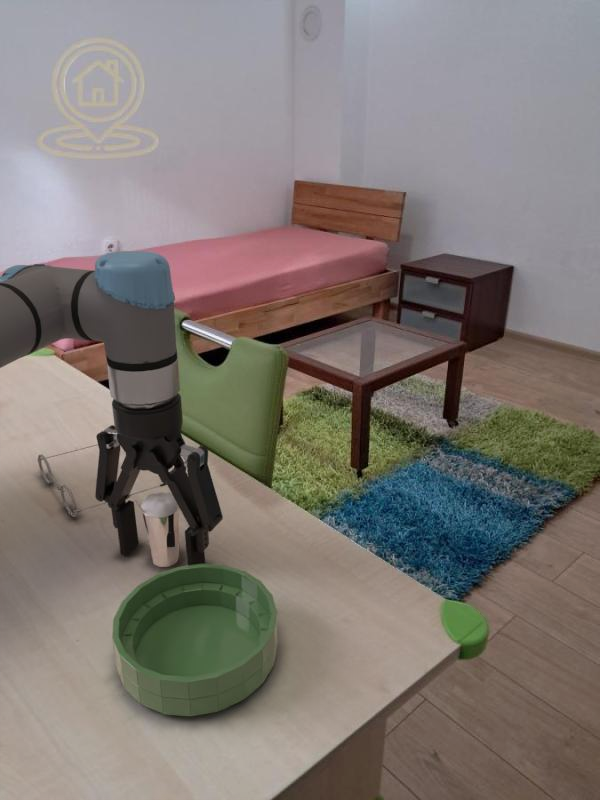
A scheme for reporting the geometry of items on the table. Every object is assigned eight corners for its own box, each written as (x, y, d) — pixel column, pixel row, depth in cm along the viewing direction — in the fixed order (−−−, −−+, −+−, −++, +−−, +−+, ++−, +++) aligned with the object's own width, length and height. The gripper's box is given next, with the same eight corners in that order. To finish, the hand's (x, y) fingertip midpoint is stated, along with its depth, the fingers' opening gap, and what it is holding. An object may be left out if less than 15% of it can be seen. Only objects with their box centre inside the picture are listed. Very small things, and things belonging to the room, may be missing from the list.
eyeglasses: (36, 471, 99) (32, 448, 97) (149, 441, 109) (147, 420, 108) (75, 526, 86) (72, 501, 84) (199, 486, 96) (198, 463, 95)
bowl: (83, 685, 62) (76, 647, 60) (176, 583, 75) (173, 549, 73) (229, 745, 56) (226, 705, 54) (300, 623, 70) (301, 587, 68)
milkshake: (134, 560, 79) (126, 492, 75) (172, 543, 82) (166, 477, 78) (152, 579, 76) (144, 509, 72) (190, 561, 79) (185, 493, 75)
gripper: (250, 399, 69) (254, 564, 78) (89, 369, 77) (110, 522, 86) (215, 427, 63) (224, 603, 72) (44, 391, 71) (72, 554, 80)
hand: (162, 559), depth 79 cm, fingers open, 9 cm apart
